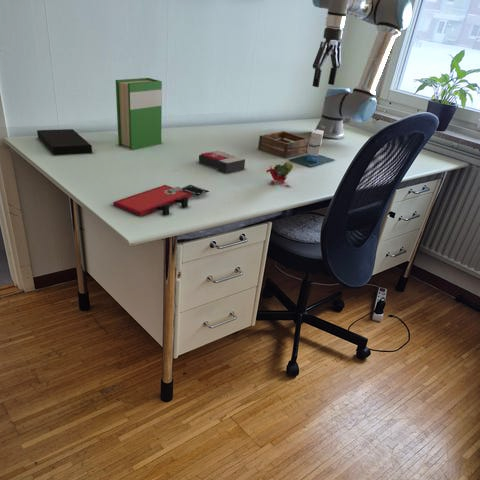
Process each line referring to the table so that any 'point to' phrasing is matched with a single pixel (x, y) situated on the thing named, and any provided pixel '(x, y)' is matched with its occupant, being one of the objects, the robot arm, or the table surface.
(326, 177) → the table surface
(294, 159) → the mat
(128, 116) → the hardback book
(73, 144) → the external hard drive
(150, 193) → the red board with handle
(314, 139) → the ink box
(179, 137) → the table surface
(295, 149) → the crate
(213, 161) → the calculator
